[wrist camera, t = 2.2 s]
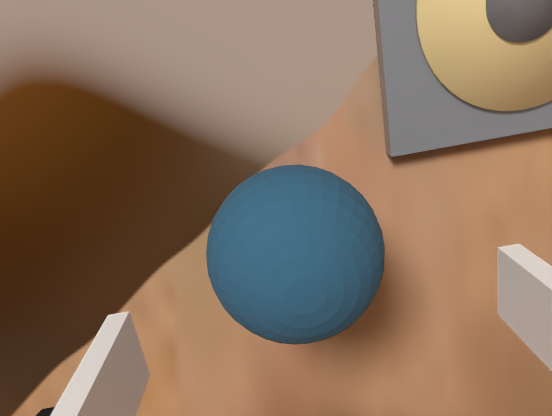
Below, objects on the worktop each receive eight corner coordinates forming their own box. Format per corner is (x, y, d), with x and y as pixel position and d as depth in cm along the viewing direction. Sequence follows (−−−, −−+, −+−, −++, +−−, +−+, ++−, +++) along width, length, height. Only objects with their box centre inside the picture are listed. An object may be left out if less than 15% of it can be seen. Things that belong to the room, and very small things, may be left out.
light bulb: (198, 165, 27) (160, 238, 16) (325, 119, 27) (381, 161, 15) (245, 277, 30) (241, 410, 18) (362, 237, 29) (432, 348, 18)
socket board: (386, 153, 28) (394, 158, 26) (361, -125, 23) (369, -138, 21) (635, 108, 27) (656, 111, 26) (663, -181, 23) (691, -197, 21)
